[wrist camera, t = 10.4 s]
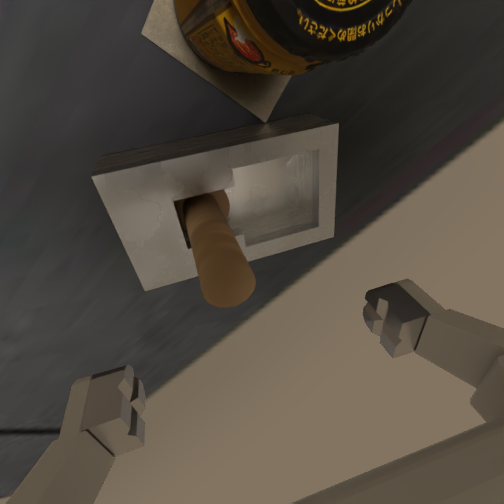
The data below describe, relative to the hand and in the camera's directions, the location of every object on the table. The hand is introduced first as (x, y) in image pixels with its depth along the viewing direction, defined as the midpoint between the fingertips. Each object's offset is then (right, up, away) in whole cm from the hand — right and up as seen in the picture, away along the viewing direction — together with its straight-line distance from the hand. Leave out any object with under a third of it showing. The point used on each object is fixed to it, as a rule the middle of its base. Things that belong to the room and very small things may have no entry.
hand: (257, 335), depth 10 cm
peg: (-4, +7, +11) cm, 13 cm away
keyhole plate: (-2, +7, +12) cm, 14 cm away
